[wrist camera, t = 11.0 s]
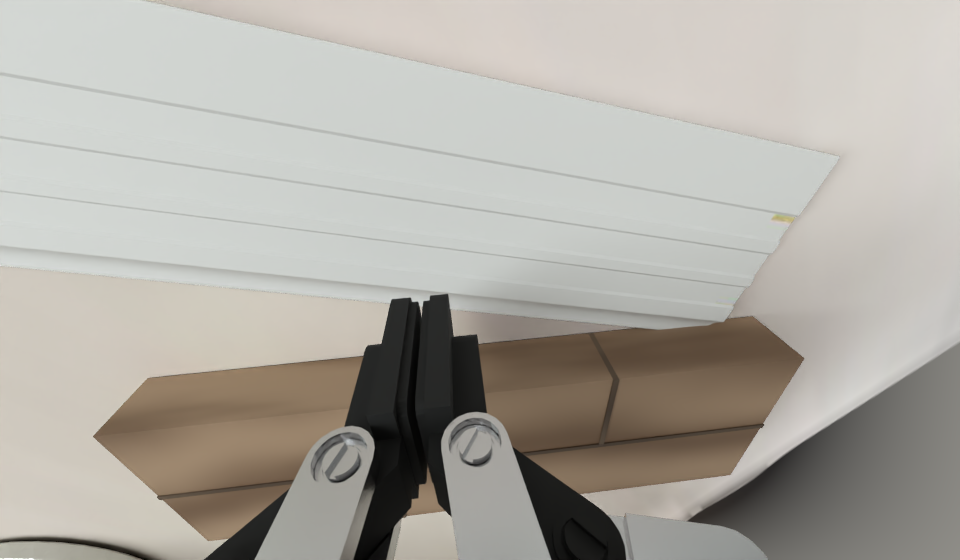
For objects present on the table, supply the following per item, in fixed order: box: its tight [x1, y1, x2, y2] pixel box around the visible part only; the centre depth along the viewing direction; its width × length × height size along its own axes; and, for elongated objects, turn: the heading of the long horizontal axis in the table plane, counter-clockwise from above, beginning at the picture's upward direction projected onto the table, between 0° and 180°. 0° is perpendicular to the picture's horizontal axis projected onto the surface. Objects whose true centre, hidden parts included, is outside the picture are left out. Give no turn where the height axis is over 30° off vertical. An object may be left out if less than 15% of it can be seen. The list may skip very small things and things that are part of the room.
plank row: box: [93, 316, 804, 541], centre depth 17 cm, size 9×28×3 cm, turn 93°
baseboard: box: [0, 0, 840, 330], centre depth 12 cm, size 30×3×10 cm
